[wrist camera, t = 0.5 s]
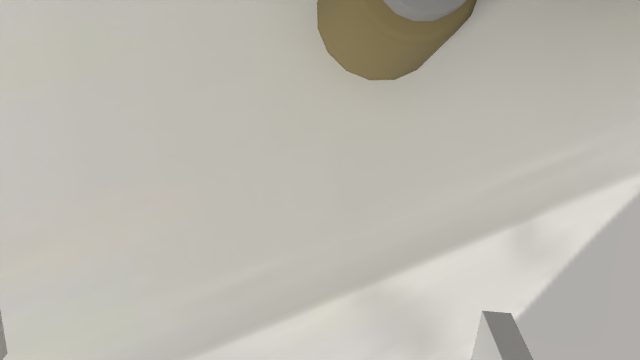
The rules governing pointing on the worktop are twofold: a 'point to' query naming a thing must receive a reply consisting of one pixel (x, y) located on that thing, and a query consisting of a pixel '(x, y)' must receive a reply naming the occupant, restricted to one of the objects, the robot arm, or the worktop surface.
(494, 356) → the robot arm
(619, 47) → the worktop surface
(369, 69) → the squeeze bottle
